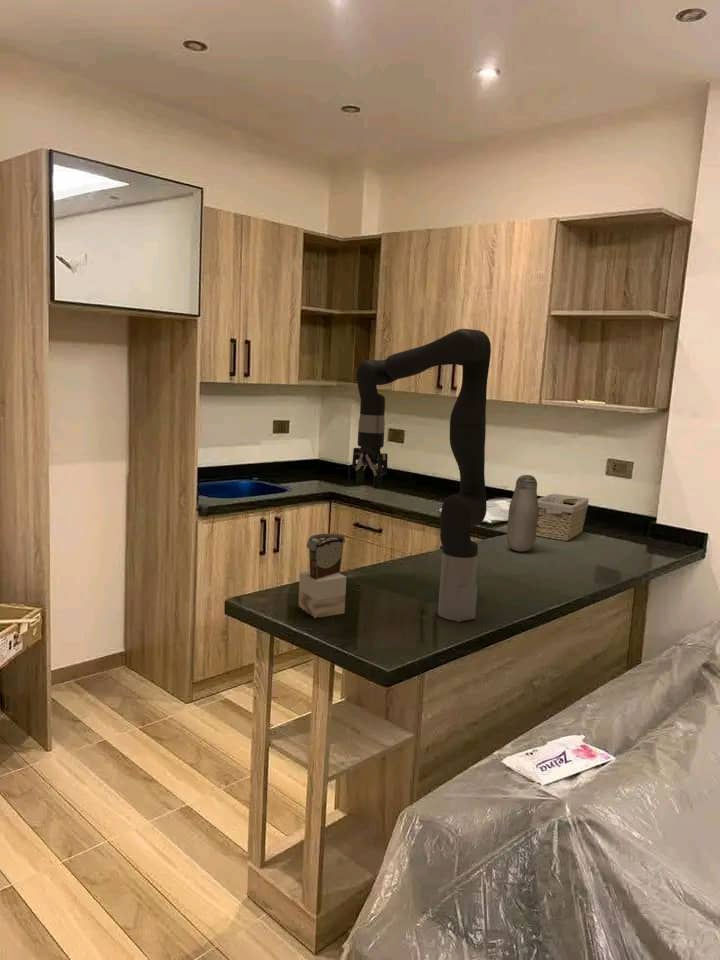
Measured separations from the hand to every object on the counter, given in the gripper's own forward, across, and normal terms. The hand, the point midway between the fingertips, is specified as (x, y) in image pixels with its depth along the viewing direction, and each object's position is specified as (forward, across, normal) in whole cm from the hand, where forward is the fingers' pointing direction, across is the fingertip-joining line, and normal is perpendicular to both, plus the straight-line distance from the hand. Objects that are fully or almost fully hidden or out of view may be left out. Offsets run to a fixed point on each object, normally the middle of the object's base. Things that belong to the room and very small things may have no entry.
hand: (368, 486), depth 213 cm
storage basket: (+30, +21, -111) cm, 117 cm away
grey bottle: (+30, +9, -76) cm, 82 cm away
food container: (+20, -11, +22) cm, 32 cm away
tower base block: (+30, -13, +22) cm, 40 cm away
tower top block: (+25, -12, +22) cm, 36 cm away
